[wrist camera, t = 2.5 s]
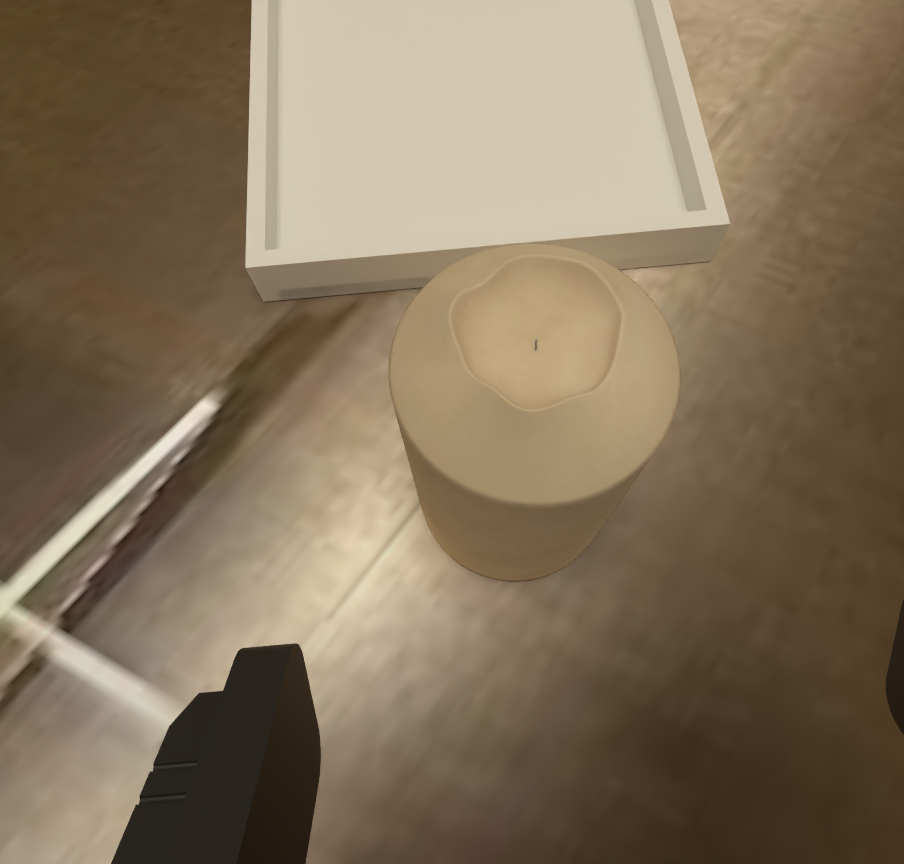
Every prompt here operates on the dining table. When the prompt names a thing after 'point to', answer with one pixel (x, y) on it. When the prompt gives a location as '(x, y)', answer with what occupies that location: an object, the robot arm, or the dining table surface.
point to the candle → (529, 402)
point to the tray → (468, 139)
